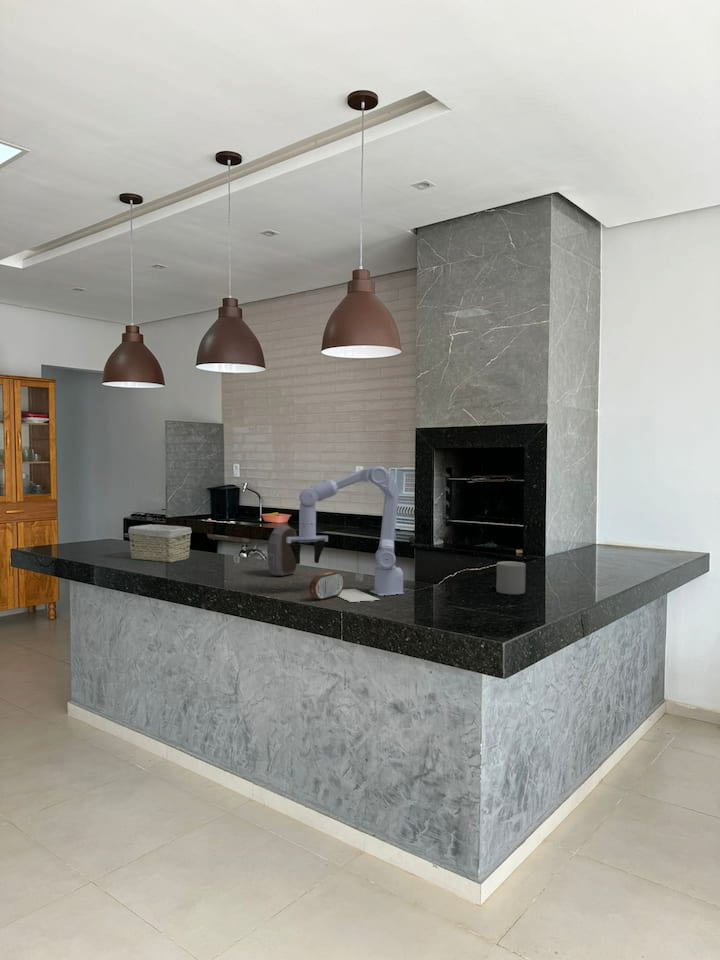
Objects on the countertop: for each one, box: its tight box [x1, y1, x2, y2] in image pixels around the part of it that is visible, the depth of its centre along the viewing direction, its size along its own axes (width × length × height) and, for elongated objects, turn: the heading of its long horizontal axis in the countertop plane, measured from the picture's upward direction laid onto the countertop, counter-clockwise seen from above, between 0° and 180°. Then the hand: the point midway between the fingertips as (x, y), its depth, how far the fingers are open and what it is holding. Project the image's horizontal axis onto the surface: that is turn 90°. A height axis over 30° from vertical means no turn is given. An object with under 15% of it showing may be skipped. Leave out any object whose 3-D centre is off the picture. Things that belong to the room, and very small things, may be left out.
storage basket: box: [127, 523, 193, 563], centre depth 316 cm, size 24×16×15 cm
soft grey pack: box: [266, 524, 298, 577], centre depth 279 cm, size 15×8×20 cm, turn 150°
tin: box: [308, 570, 345, 600], centre depth 234 cm, size 15×3×8 cm, turn 141°
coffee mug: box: [495, 560, 526, 595], centre depth 252 cm, size 13×10×10 cm
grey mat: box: [336, 588, 381, 603], centre depth 238 cm, size 10×20×1 cm, turn 25°
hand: (307, 563), depth 242 cm, fingers open, 6 cm apart
